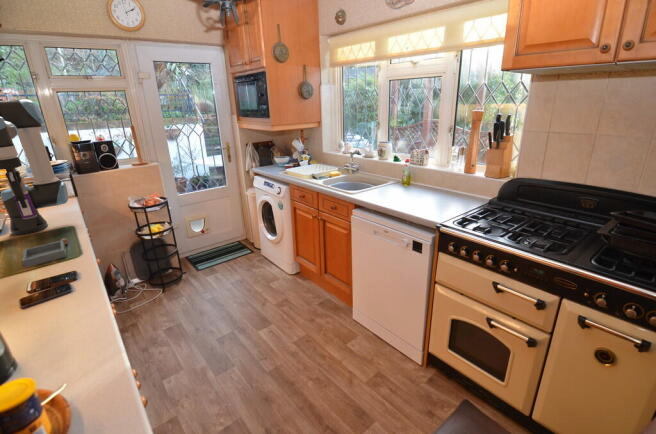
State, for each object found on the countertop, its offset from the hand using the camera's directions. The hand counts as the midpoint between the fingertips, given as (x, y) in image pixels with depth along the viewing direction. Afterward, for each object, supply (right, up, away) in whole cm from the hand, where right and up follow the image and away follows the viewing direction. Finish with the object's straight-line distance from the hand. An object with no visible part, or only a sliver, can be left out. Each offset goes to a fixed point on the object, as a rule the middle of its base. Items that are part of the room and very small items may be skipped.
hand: (28, 213), depth 139 cm
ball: (+1, -15, +18) cm, 24 cm away
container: (0, -2, +1) cm, 2 cm away
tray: (+1, -19, +8) cm, 20 cm away
